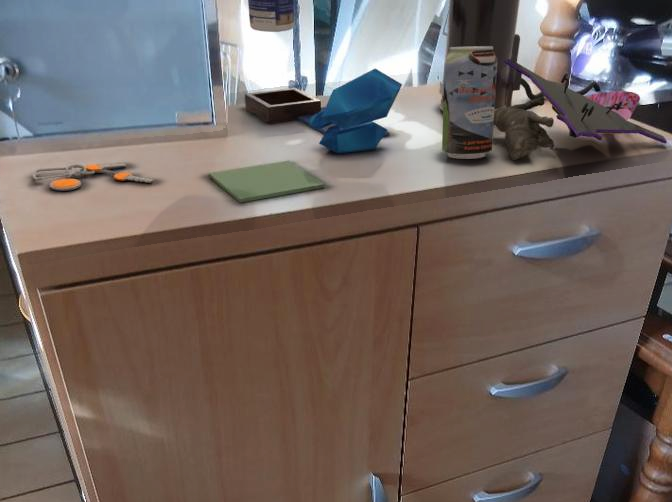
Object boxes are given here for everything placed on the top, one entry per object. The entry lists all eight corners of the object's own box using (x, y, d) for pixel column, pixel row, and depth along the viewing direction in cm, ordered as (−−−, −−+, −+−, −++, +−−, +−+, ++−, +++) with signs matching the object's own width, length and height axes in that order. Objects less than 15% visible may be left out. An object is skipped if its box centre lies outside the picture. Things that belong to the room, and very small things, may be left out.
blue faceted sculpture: (293, 86, 88) (379, 52, 90) (310, 158, 94) (390, 125, 97) (319, 101, 83) (410, 65, 86) (335, 176, 89) (420, 140, 92)
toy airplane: (690, 159, 78) (663, 204, 81) (676, 111, 98) (655, 149, 101) (486, 69, 78) (467, 117, 81) (515, 40, 98) (499, 79, 102)
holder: (295, 102, 109) (295, 87, 107) (321, 116, 103) (321, 100, 102) (245, 108, 105) (244, 93, 104) (269, 123, 100) (268, 107, 99)
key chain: (30, 193, 78) (28, 185, 78) (33, 170, 84) (31, 163, 83) (154, 186, 81) (153, 178, 81) (149, 164, 87) (148, 157, 86)
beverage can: (458, 169, 87) (470, 53, 80) (426, 151, 92) (434, 40, 84) (502, 162, 90) (517, 49, 82) (468, 145, 95) (479, 37, 87)
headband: (642, 123, 97) (651, 106, 96) (624, 106, 95) (632, 89, 94) (587, 125, 106) (595, 109, 105) (569, 109, 104) (577, 94, 103)
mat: (288, 164, 88) (288, 160, 87) (324, 187, 82) (324, 184, 81) (208, 176, 84) (208, 173, 83) (240, 202, 78) (239, 198, 78)
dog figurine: (535, 135, 98) (480, 146, 98) (535, 87, 94) (477, 99, 94) (563, 165, 89) (502, 177, 89) (564, 114, 85) (500, 127, 85)
